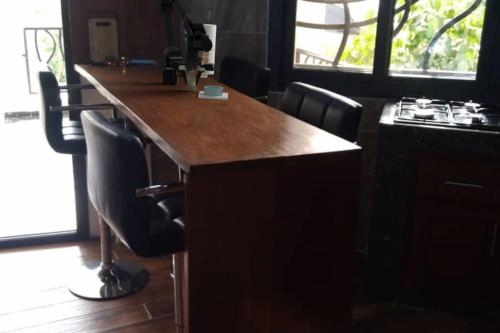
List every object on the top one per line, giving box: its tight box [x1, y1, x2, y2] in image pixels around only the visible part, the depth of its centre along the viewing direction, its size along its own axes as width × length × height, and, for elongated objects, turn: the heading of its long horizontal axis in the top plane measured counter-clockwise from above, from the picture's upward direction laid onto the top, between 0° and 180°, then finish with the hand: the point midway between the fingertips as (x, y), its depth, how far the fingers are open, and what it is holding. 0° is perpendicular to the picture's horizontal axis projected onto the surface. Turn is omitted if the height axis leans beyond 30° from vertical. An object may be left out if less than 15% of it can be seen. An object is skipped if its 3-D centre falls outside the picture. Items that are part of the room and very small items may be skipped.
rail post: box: [186, 70, 197, 92], centre depth 239 cm, size 4×4×8 cm
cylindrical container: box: [203, 23, 217, 75], centre depth 291 cm, size 7×7×25 cm
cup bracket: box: [197, 85, 229, 101], centre depth 231 cm, size 12×12×4 cm
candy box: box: [191, 51, 209, 79], centre depth 279 cm, size 9×4×15 cm, turn 39°
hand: (191, 85), depth 240 cm, fingers closed on rail post, 4 cm apart
